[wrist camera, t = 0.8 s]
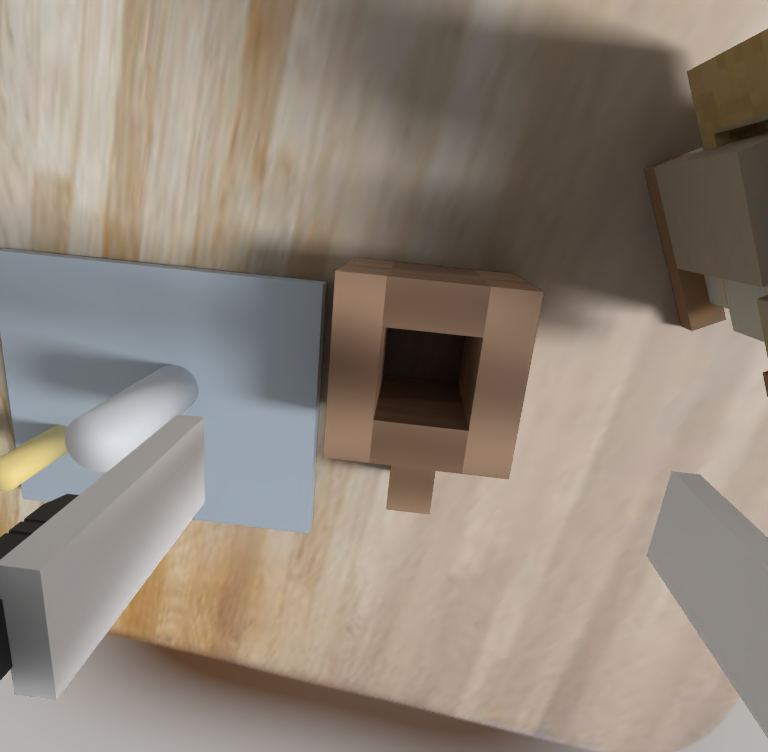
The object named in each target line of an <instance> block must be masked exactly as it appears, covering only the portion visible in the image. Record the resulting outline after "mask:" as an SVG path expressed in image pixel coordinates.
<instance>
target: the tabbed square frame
mask: <svg viewBox="0 0 768 752" xmlns="http://www.w3.org/2000/svg"><path fill="white" fill-rule="evenodd" d="M543 295H544V292H543V291H541V290H540V289H538V288H537V287H535V286H534V285H532V284H530V283H529V282H527V281H526V280H524V279H522V278H521V277H519V276H518V275H516V274H511V273H501V272H491V271H482V270H472V269H462V268H452V267H442V266H433V265H423V264H413V263H403V262H393V261H383V260H374V259H364V258H353V259H352V260H350V261H349V262H347V263H346V264H344V265H343V266H341V267H340V268H338V269H337V270H336V271H335V283H334V298H333V314H332V330H331V345H330V361H329V377H328V392H327V408H326V423H325V439H324V455H323V458H330V459H339V460H347V461H356V462H365V463H373V464H382V465H391V470H390V479H389V488H388V497H387V507H386V509H388V510H396V511H405V512H413V513H422V514H430V507H431V499H432V492H433V485H434V478H435V471H442V472H451V473H460V474H468V475H477V476H486V477H494V478H503V479H509V476H510V470H511V465H512V460H513V454H514V449H515V444H516V438H517V433H518V428H519V423H520V417H521V412H522V407H523V401H524V396H525V391H526V385H527V380H528V375H529V369H530V364H531V359H532V353H533V348H534V343H535V337H536V332H537V327H538V321H539V316H540V311H541V305H542V300H543ZM388 328H397V329H406V330H416V331H425V332H435V333H444V334H453V335H463V336H465V341H464V348H463V355H462V361H461V368H460V375H459V382H458V384H453V383H444V382H435V381H426V380H417V379H408V378H399V377H389V376H383V374H384V364H385V354H386V344H387V333H388Z"/></svg>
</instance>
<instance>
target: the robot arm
mask: <svg viewBox="0 0 768 752" xmlns="http://www.w3.org/2000/svg"><path fill="white" fill-rule="evenodd" d="M204 503H205V488H204V417H195V416H187V415H178V414H177V415H176V416H175V417H174V418H172V419H171V420H170V421H169V422H167V423H166V424H165V425H164V426H163V427H161V428H160V429H159V430H158V431H156V432H155V433H154V434H153V435H152V436H150V437H149V438H148V439H147V440H146V441H144V442H143V443H142V444H141V445H139V446H138V447H137V448H136V449H135V450H133V451H132V452H131V453H130V454H128V455H127V456H126V457H125V458H124V459H122V460H121V461H120V462H119V463H118V464H116V465H115V466H114V467H113V468H111V469H110V470H109V471H108V472H107V473H105V474H104V475H103V476H102V477H100V478H99V479H98V480H97V481H96V482H94V483H93V484H92V485H91V486H89V487H88V488H87V489H86V490H85V491H83V492H82V493H81V494H80V495H74V494H66V495H63V496H61V497H59V498H57V499H54V500H52V501H50V502H48V503H45V504H43V505H42V506H40V507H39V508H38V509H37V510H35V511H34V512H33V513H31V514H30V515H29V516H27V517H26V518H25V520H24V522H20V523H18V524H17V525H16V526H14V527H13V528H12V529H11V530H9V533H8V534H7V533H5V534H4V535H3V536H1V537H0V680H1V679H2V678H3V677H4V676H5V674H6V673H7V672H8V671H9V670H10V669H11V673H12V680H13V686H14V692H15V694H17V695H24V696H31V697H39V698H46V699H54V700H57V699H58V697H59V696H60V695H61V693H62V692H63V691H64V689H65V688H66V687H67V685H68V684H69V683H70V681H71V680H72V679H73V677H74V676H75V675H76V673H77V672H78V670H79V669H80V668H81V667H82V665H83V664H84V663H85V661H86V660H87V659H88V657H89V656H90V655H91V653H92V652H93V651H94V649H95V648H96V647H97V645H98V644H99V642H100V641H101V640H102V639H103V637H104V636H105V635H106V633H107V632H108V631H109V629H110V628H111V627H112V625H113V624H114V623H115V621H116V620H117V619H118V617H119V616H120V615H121V613H122V612H123V611H124V609H125V608H126V607H127V605H128V604H129V603H130V601H131V600H132V599H133V597H134V596H135V595H136V593H137V592H138V591H139V589H140V588H141V587H142V585H143V584H144V583H145V581H146V580H147V579H148V577H149V576H150V575H151V573H152V572H153V571H154V569H155V568H156V567H157V565H158V564H159V563H160V561H161V560H162V559H163V557H164V556H165V555H166V553H167V552H168V551H169V549H170V548H171V547H172V545H173V544H174V543H175V541H176V540H177V539H178V537H179V536H180V535H181V533H182V532H183V531H184V529H185V528H186V527H187V525H188V524H189V523H190V521H191V520H192V519H193V517H194V516H195V515H196V513H197V512H198V511H199V509H200V508H201V507H202V505H203V504H204ZM647 557H648V559H649V560H650V562H651V563H652V565H653V566H654V568H655V569H656V571H657V572H658V574H659V575H660V577H661V578H662V580H663V581H664V583H665V584H666V586H667V587H668V589H669V590H670V592H671V593H672V595H673V596H674V598H675V599H676V601H677V602H678V604H679V605H680V607H681V608H682V610H683V611H684V613H685V614H686V616H687V617H688V619H689V620H690V622H691V623H692V625H693V626H694V628H695V629H696V631H697V632H698V634H699V635H700V637H701V638H702V640H703V641H704V643H705V644H706V646H707V647H708V649H709V650H710V652H711V653H712V655H713V656H714V658H715V659H716V661H717V662H718V664H719V665H720V667H721V668H722V670H723V671H724V673H725V674H726V676H727V677H728V679H729V680H730V682H731V683H732V685H733V686H734V688H735V689H736V691H737V692H738V694H739V695H740V697H741V698H742V700H743V701H744V703H745V704H746V706H747V707H748V709H749V710H750V712H751V713H752V715H753V716H754V718H755V720H756V721H757V723H758V724H759V725H760V727H761V728H762V730H763V732H764V733H765V734H766V736H767V737H768V537H766V536H765V535H764V534H763V533H762V532H761V531H760V530H759V529H758V528H757V527H756V526H755V525H753V524H752V523H751V522H750V521H749V520H748V519H747V518H746V517H745V516H744V515H743V514H742V513H741V512H739V511H738V510H737V509H736V508H735V507H734V506H733V505H732V504H731V503H730V502H729V501H728V500H727V499H725V498H724V497H723V496H722V495H721V494H720V493H719V492H718V491H717V490H716V489H715V488H714V487H713V486H711V485H710V484H709V483H708V482H707V481H706V480H705V479H704V478H703V477H702V476H701V475H698V474H689V473H681V472H671V475H670V479H669V482H668V485H667V489H666V492H665V496H664V499H663V502H662V506H661V509H660V513H659V516H658V519H657V523H656V526H655V530H654V533H653V536H652V540H651V543H650V547H649V550H648V553H647Z"/></svg>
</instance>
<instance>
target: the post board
mask: <svg viewBox="0 0 768 752" xmlns="http://www.w3.org/2000/svg"><path fill="white" fill-rule="evenodd" d="M326 285H327V282H325V281H316V280H306V279H296V278H287V277H277V276H268V275H258V274H248V273H239V272H229V271H219V270H210V269H200V268H190V267H181V266H171V265H161V264H152V263H142V262H132V261H123V260H113V259H104V258H94V257H84V256H75V255H65V254H55V253H46V252H36V251H26V250H17V249H7V248H3V249H0V335H1V343H2V350H3V357H4V365H5V372H6V379H7V387H8V394H9V401H10V409H11V416H12V423H13V431H14V438H15V445H16V448H15V449H14V450H12V451H10V452H8V453H7V454H5V455H3V456H1V457H0V491H1V492H8V491H11V490H13V489H14V488H16V487H17V486H19V485H20V484H21V489H22V497H23V499H29V500H37V501H45V502H50V501H52V500H54V499H57V498H59V497H61V496H63V495H66V494H74V495H80V494H81V493H82V492H83V491H85V490H86V489H87V488H88V487H89V486H91V485H92V484H93V483H94V482H96V481H97V480H98V479H99V478H100V477H102V476H103V475H104V474H105V473H107V472H108V471H109V470H110V469H111V468H113V467H114V466H115V465H116V464H118V463H119V462H120V461H121V460H122V459H124V458H125V457H126V456H127V455H128V454H130V453H131V452H132V451H133V450H135V449H136V448H137V447H138V446H139V445H141V444H142V443H143V442H144V441H146V440H147V439H148V438H149V437H150V436H152V435H153V434H154V433H155V432H156V431H158V430H159V429H160V428H161V427H163V426H164V425H165V424H166V423H167V422H169V421H170V420H171V419H172V418H174V417H175V416H176V415H177V414H178V415H187V416H195V417H204V488H205V503H204V504H203V505H202V507H201V508H200V509H199V511H198V512H197V513H196V515H195V516H194V517H193V519H194V520H202V521H211V522H219V523H227V524H235V525H244V526H252V527H260V528H268V529H277V530H285V531H293V532H301V533H309V531H310V528H311V525H312V521H313V504H314V488H315V471H316V454H317V437H318V420H319V403H320V386H321V369H322V353H323V336H324V319H325V302H326Z"/></svg>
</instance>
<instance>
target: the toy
mask: <svg viewBox="0 0 768 752" xmlns="http://www.w3.org/2000/svg"><path fill="white" fill-rule="evenodd" d="M687 74H688V79H689V84H690V89H691V94H692V99H693V103H694V108H695V113H696V118H697V123H698V128H699V133H700V137H701V142H702V147H700V148H698V149H695V150H693V151H690V152H688V153H685V154H683V155H680V156H678V157H675V158H672V159H670V160H667V161H665V162H662V163H660V164H657V165H655V166H652V167H650V168H647V169H644V171H645V175H646V179H647V183H648V187H649V192H650V196H651V200H652V204H653V209H654V213H655V217H656V221H657V225H658V230H659V234H660V238H661V242H662V246H663V251H664V255H665V259H666V263H667V268H668V272H669V276H670V280H671V284H672V289H673V293H674V297H675V301H676V305H677V310H678V314H679V318H680V322H681V326H682V327H684V328H686V329H689V330H691V331H693V330H696V329H699V328H702V327H705V326H708V325H711V324H714V323H717V322H720V321H723V320H726V317H725V312H724V308H723V307H725V308H728V309H729V311H730V316H731V320H732V325H733V330H734V331H736V332H739V333H742V334H745V335H747V336H750V337H753V338H755V339H758V340H761V341H763V342H765V346H766V351H767V356H768V29H766V30H764V31H763V32H761V33H759V34H757V35H755V36H753V37H751V38H749V39H747V40H746V41H744V42H742V43H740V44H738V45H736V46H734V47H732V48H731V49H729V50H727V51H725V52H723V53H721V54H719V55H717V56H716V57H714V58H712V59H710V60H708V61H706V62H704V63H702V64H700V65H699V66H697V67H695V68H693V69H691V70H689V71H687ZM763 376H764V381H765V386H766V392H767V397H768V371H766V372H763Z"/></svg>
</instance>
